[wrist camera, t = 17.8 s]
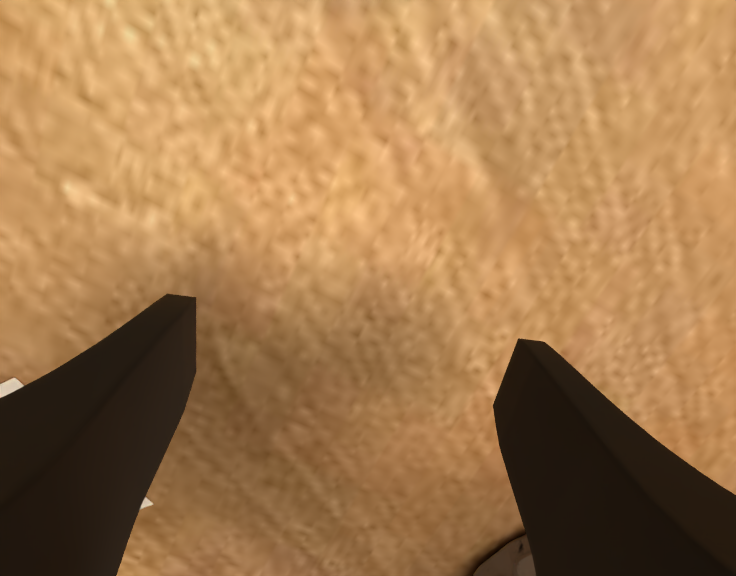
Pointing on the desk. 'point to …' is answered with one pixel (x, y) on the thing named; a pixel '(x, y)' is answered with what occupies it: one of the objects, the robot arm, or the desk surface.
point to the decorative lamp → (510, 560)
